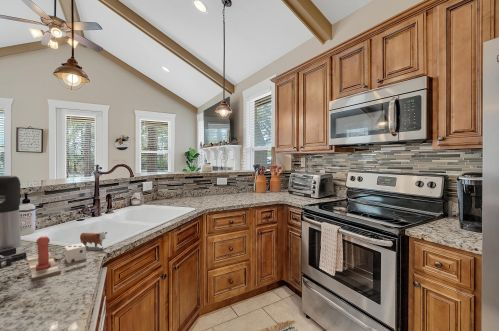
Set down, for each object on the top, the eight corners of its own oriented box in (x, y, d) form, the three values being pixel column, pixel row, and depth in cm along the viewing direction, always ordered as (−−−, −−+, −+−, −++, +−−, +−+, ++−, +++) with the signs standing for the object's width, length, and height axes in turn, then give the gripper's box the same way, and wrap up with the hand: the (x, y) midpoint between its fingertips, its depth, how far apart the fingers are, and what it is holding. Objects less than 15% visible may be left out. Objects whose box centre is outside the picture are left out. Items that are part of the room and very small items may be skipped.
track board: (25, 259, 103) (25, 256, 103) (50, 254, 109) (50, 251, 108) (31, 281, 85) (31, 277, 85) (60, 273, 91) (60, 270, 91)
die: (65, 261, 101) (64, 246, 101) (82, 256, 105) (82, 242, 105) (68, 265, 97) (67, 250, 97) (86, 261, 101) (85, 246, 101)
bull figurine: (103, 251, 111) (103, 233, 111) (77, 249, 114) (77, 231, 113) (110, 248, 115) (110, 230, 115) (86, 246, 118) (85, 228, 118)
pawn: (35, 267, 93) (35, 236, 93) (50, 263, 96) (49, 233, 96) (36, 270, 90) (36, 239, 90) (51, 267, 93) (50, 236, 93)
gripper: (-45, 263, 70) (29, 245, 84) (-58, 254, 77) (12, 238, 91) (-44, 290, 70) (30, 267, 84) (-57, 278, 77) (13, 259, 91)
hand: (20, 252), depth 87 cm, fingers open, 8 cm apart
